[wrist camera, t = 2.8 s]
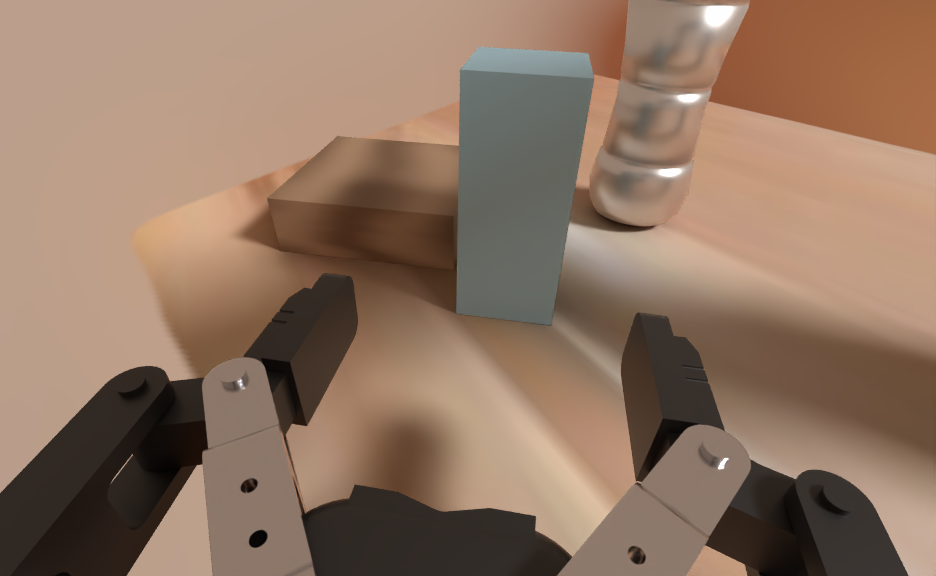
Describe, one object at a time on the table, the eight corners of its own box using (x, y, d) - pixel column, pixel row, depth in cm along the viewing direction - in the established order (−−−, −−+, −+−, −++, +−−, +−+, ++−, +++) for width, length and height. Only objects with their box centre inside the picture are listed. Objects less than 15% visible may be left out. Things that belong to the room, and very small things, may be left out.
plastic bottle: (587, 191, 38) (652, -145, 26) (676, 204, 36) (788, -146, 24) (578, 228, 33) (653, -167, 21) (681, 245, 31) (824, -170, 19)
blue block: (552, 272, 28) (588, 53, 21) (550, 325, 24) (594, 78, 17) (470, 262, 29) (478, 46, 22) (456, 313, 25) (460, 69, 18)
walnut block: (477, 196, 37) (479, 147, 35) (453, 274, 29) (453, 216, 26) (344, 184, 38) (337, 136, 36) (281, 256, 30) (267, 198, 27)
